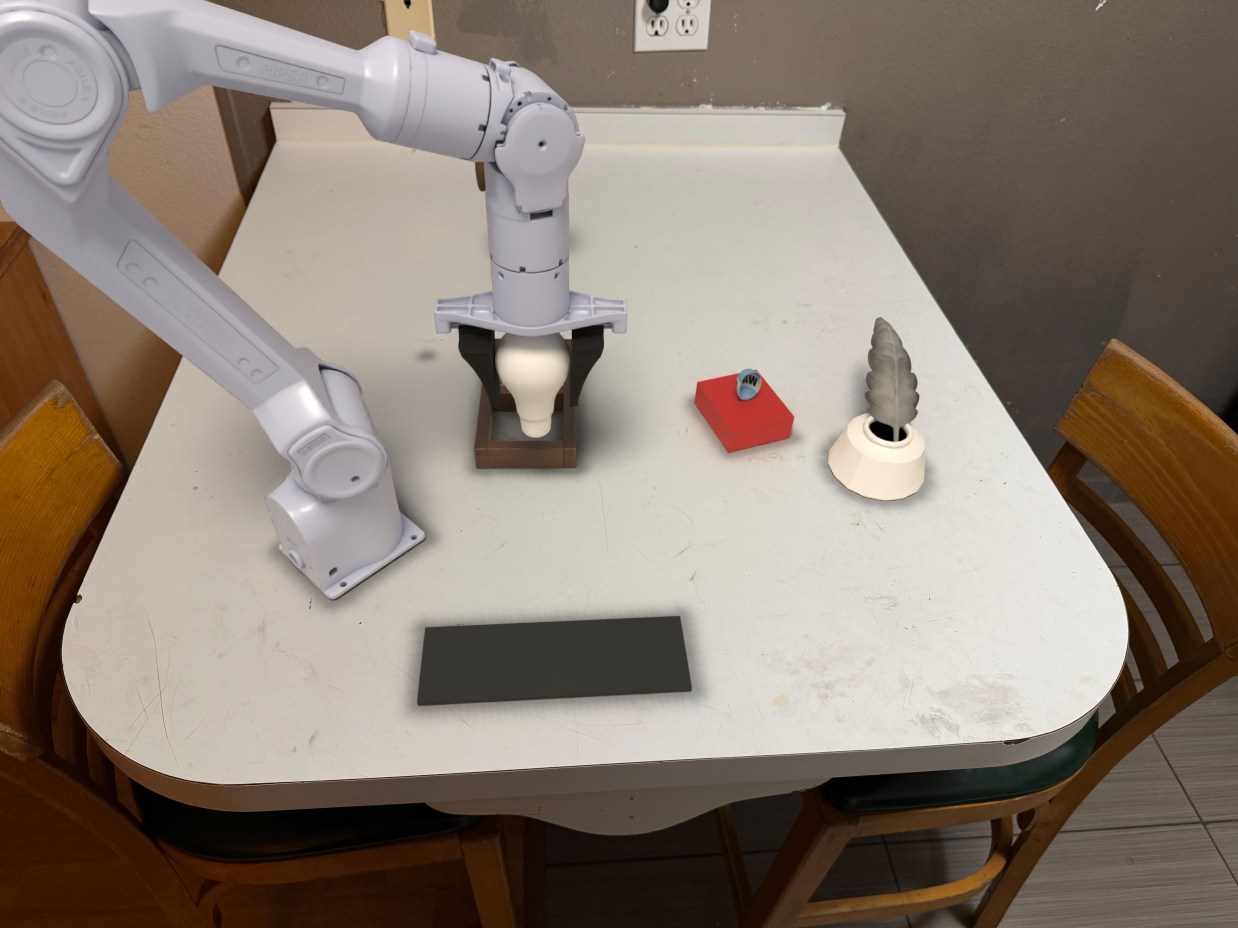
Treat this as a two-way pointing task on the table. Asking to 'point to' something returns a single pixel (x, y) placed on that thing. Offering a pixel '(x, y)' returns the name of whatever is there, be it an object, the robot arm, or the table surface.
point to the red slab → (743, 410)
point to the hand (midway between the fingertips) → (535, 399)
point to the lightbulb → (533, 376)
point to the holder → (525, 451)
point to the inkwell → (883, 427)
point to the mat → (552, 660)
